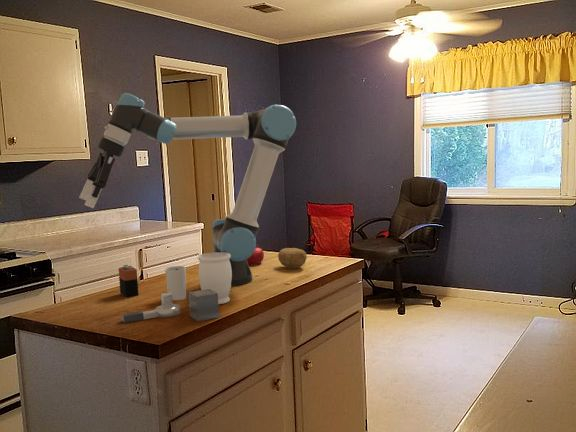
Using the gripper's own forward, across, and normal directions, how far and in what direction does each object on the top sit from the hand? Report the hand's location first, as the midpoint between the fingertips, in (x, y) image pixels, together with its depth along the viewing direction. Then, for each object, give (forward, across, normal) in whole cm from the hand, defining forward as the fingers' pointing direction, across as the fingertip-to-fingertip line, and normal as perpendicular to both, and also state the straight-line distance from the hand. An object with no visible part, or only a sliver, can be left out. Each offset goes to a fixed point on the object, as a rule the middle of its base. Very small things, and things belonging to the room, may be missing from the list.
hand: (85, 202), depth 172 cm
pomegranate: (+2, -25, +76) cm, 80 cm away
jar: (+12, +23, +44) cm, 52 cm away
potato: (-4, -8, +84) cm, 85 cm away
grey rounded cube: (+14, +36, +36) cm, 53 cm away
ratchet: (+21, +28, +25) cm, 43 cm away
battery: (+24, -3, +26) cm, 36 cm away
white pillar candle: (+17, +12, +36) cm, 42 cm away
